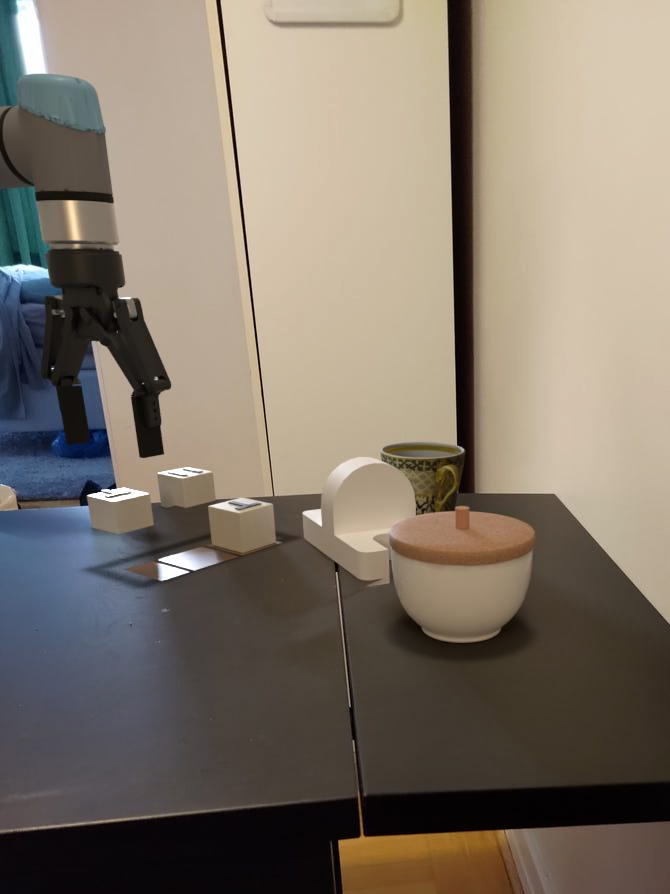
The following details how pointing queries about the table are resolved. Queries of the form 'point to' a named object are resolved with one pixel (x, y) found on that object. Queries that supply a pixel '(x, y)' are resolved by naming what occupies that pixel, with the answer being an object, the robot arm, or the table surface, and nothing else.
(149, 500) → the tile
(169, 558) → the word board
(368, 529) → the u-slot stand
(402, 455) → the ceramic cup
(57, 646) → the table surface
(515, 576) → the lidded bowl
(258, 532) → the tile
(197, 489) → the tile middle
